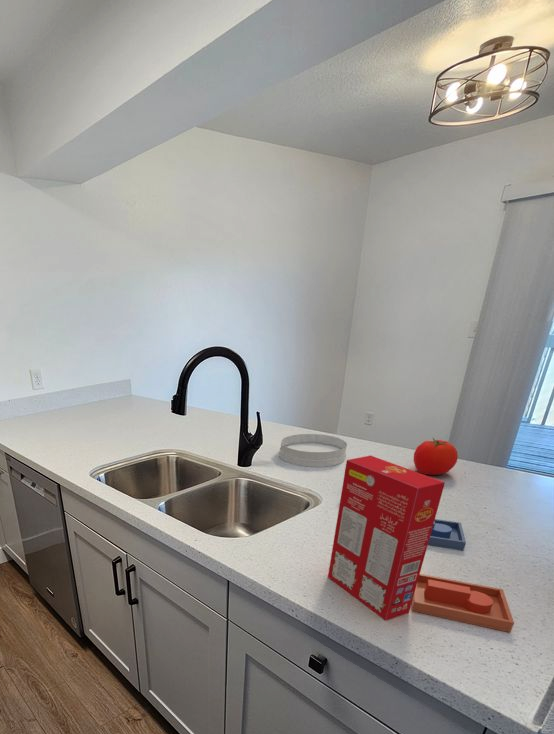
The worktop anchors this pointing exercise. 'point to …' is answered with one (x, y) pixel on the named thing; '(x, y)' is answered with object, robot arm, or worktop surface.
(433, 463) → the tomato
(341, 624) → the worktop surface
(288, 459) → the light grey ring
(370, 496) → the food packaging
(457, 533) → the slate tray
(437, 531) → the slate spoon
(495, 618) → the terracotta tray
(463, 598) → the terracotta spoon
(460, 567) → the worktop surface
